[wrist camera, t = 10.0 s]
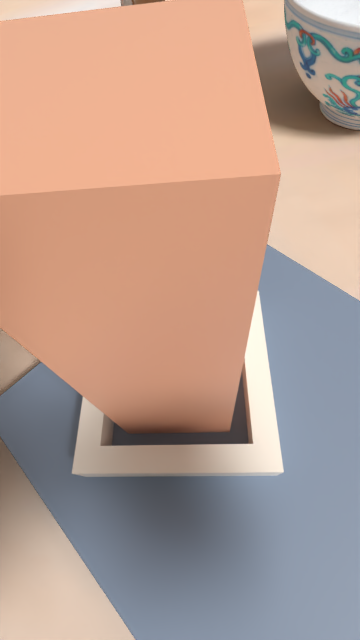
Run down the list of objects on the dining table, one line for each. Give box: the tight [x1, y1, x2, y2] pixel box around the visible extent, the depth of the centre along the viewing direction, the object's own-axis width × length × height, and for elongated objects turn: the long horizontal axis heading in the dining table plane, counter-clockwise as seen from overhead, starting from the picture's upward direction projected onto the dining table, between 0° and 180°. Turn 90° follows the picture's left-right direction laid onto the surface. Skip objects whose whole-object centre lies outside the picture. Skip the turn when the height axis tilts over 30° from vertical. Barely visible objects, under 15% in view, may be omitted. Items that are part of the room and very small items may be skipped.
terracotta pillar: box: [0, 0, 281, 434], centre depth 10 cm, size 4×4×13 cm
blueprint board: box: [0, 245, 360, 640], centre depth 15 cm, size 17×22×1 cm
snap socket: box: [72, 291, 284, 477], centre depth 15 cm, size 8×8×2 cm
